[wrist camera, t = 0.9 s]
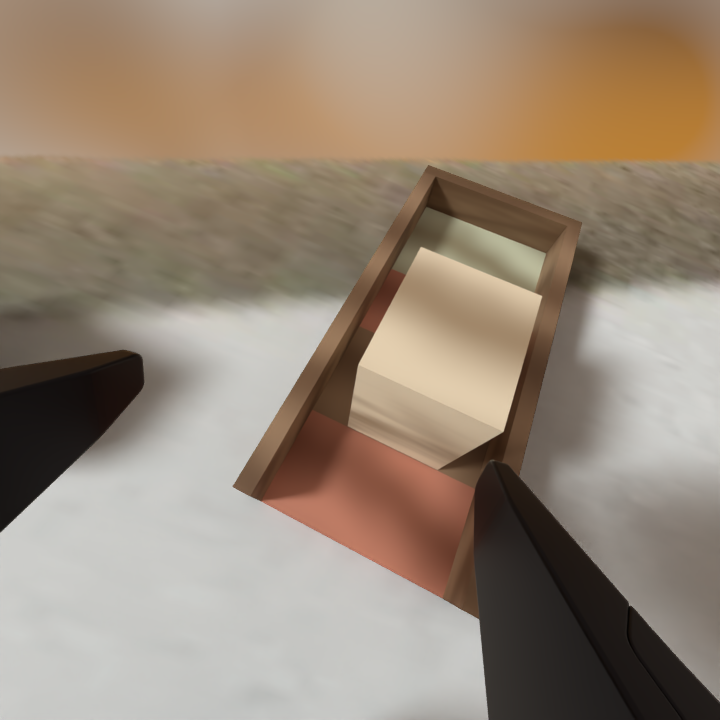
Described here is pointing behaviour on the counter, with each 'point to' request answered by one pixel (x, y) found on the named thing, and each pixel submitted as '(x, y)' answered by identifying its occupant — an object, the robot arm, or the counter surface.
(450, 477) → the tray
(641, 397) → the counter surface
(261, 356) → the counter surface
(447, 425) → the sliding block
